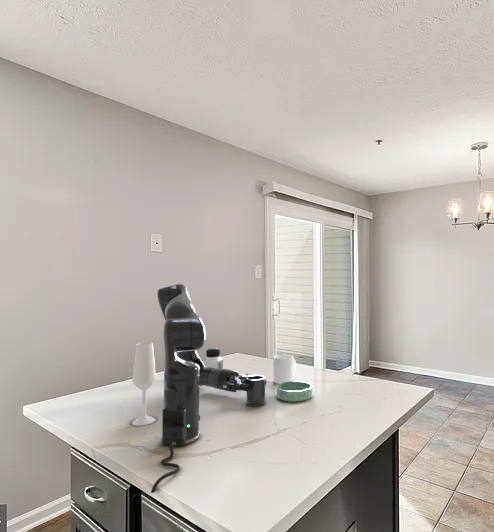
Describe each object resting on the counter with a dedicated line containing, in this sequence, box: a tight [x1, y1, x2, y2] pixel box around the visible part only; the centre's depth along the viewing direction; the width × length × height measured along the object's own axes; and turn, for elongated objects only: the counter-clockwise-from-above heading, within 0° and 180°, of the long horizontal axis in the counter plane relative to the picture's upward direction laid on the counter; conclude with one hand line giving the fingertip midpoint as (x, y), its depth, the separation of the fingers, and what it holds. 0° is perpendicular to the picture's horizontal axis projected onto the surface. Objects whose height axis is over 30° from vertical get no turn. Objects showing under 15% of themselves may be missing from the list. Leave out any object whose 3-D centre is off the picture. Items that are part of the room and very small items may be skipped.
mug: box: [272, 353, 297, 385], centre depth 162 cm, size 9×12×11 cm
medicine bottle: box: [202, 347, 224, 369], centre depth 171 cm, size 7×7×12 cm
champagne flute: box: [131, 341, 157, 427], centre depth 117 cm, size 7×7×24 cm
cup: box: [245, 374, 266, 407], centre depth 134 cm, size 6×6×9 cm
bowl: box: [276, 380, 313, 403], centre depth 141 cm, size 13×13×4 cm
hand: (258, 385), depth 133 cm, fingers open, 8 cm apart
